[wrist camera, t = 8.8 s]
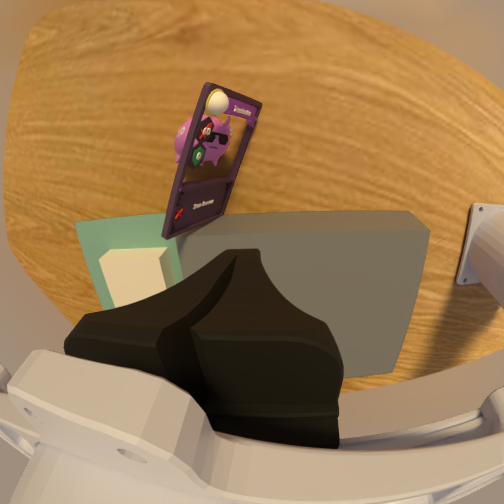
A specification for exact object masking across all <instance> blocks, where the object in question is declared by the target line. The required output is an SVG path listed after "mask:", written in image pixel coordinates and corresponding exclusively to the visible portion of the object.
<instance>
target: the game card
mask: <svg viewBox="0 0 504 504" xmlns="http://www.w3.org/2000/svg"><path fill="white" fill-rule="evenodd" d="M228 97H229V98H228ZM231 98H232V99H231ZM261 108H262V103H261V102H258V101H256V100H254V99H251V98H249V97H247V96H244V95H242V94H240V93H237V92H235V91H232V90H230V89H227V88H224V87H222V86H219V85H217V84H214V83H210V82H206V83H205V84H204V86H203V88H202V91H201V94H200V97H199V100H198V103H197V106H196V109H195V112H194V115H193V117H192V118H190V119H189V120H187V121H186V122H185V123H184V124H183V125H182V126H181V127H180V129H179V130H178V132H177V134H176V138H175V150H176V153H177V157H176V163H178V162H179V164H178V168H177V172H176V175H175V179H174V183H173V187H172V191H171V195H170V199H169V203H168V207H167V211H166V216H165V220H164V225H163V229H162V234H161V236H162V237H163V238H164V239H166V240H169V239H171V238H173V237H176V236H178V235H180V234H183V233H185V232H188V231H190V230H192V229H195V228H197V227H200V226H202V225H204V224H207V223H209V222H212V221H214V220H216V219H218V218H219V217H221V216H222V215H223V214H224V212H225V209H226V206H227V203H228V200H229V197H230V194H231V191H232V188H233V185H234V182H235V179H236V176H237V173H238V171H239V168H240V165H241V162H242V159H243V156H244V154H245V151H246V148H247V145H248V143H249V140H250V137H251V134H252V132H253V129H254V126H255V124H256V121H257V119H258V115H259V113H260V110H261ZM205 110H206V113H207V115H203V114H204V111H205ZM222 113H224V114H230V115H235V116H239V117H242V118H245V119H248V121H247V127H246V130H245V133H244V135H243V138H242V141H241V144H240V147H239V149H238V152H237V155H236V158H235V161H234V164H233V167H232V170H231V173H230V175H229V176H222V177H215V178H209V179H202V180H196V181H190V182H184V183H183V179H184V175H185V172H186V168H187V165H189V166H190V167H191V168H192V169H194V168H196V167H197V166H198V165H199V164H200V166H203V165H204V162H205V161H212V162H213V164H214V166H216V165H217V162H218V159H219V157H220V156H222V155H223V154H224V153H225V152H226V150H227V149H228V146H229V142H230V138H231V137H232V136H233V135H230V133H231V132H232V131H233V130H234V128H233V129H231V130H230V129H229V128H230V126H228V125H229V122H230V116H228V119H227V121H226V122H225V123H224V124H223V123H222V122H221V121H219V120H218V119H216V118H215V117H213V116H215V115H219V114H222Z"/></svg>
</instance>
